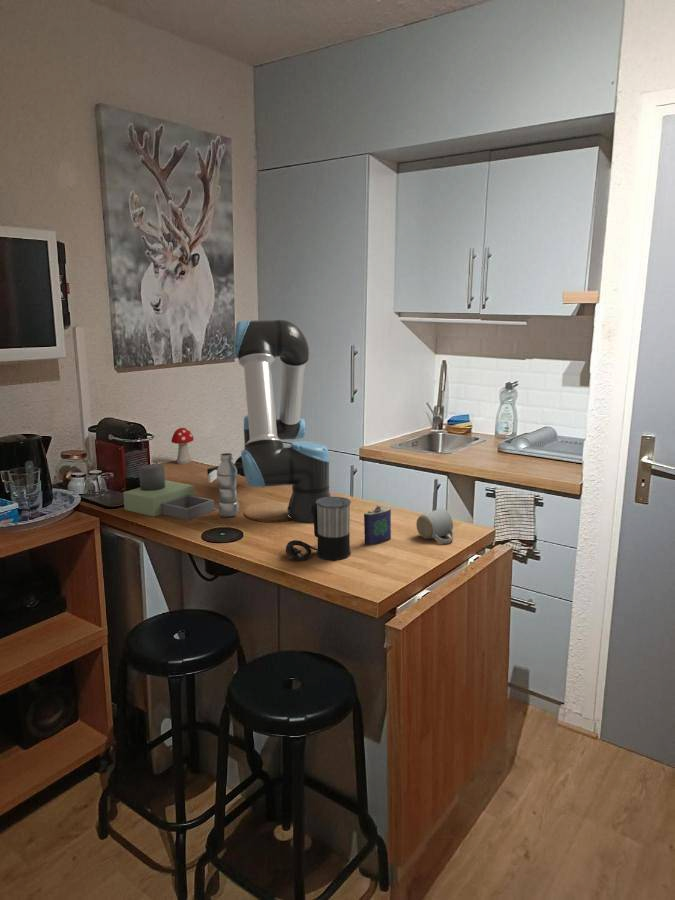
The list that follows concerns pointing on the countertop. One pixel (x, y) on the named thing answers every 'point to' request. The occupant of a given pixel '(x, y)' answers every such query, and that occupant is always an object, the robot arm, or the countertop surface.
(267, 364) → the robot arm
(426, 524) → the ceramic mug
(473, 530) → the countertop surface
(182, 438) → the decorative mushroom
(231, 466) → the plastic bottle
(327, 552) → the milk frother
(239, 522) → the countertop surface
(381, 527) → the flask
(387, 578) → the countertop surface
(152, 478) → the green block with tray
